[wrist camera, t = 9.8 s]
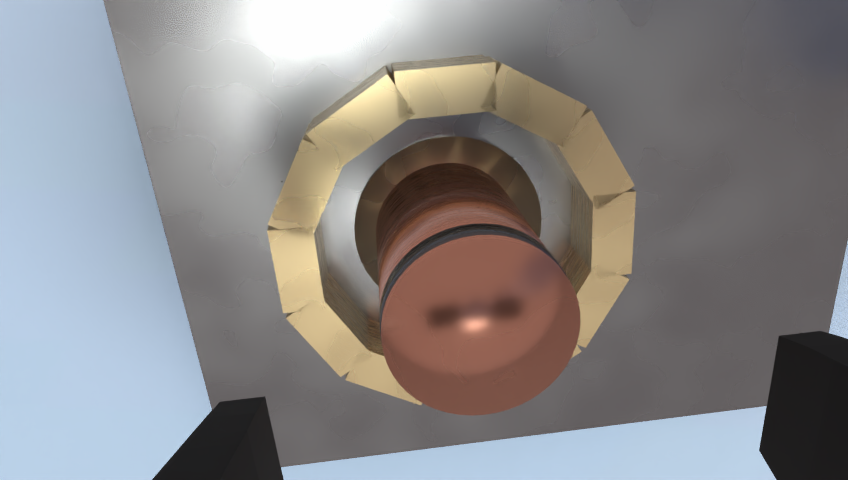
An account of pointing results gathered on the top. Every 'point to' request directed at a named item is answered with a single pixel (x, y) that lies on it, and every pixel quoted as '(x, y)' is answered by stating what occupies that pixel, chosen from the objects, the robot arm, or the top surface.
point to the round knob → (469, 294)
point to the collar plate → (515, 171)
